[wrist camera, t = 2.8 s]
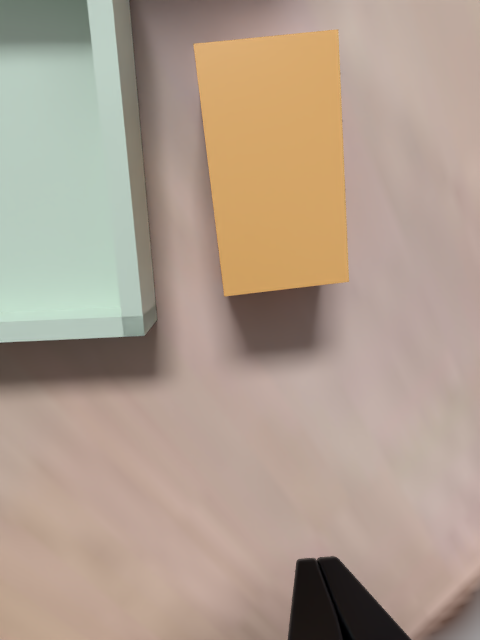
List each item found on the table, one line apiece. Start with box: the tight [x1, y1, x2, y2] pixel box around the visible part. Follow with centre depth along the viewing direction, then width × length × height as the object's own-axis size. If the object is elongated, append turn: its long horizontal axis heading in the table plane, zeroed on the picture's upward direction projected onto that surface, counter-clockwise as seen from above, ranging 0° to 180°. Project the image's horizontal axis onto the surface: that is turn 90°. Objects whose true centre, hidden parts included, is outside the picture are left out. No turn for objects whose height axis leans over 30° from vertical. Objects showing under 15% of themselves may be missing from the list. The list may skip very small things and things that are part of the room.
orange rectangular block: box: [194, 30, 349, 296], centre depth 12 cm, size 7×4×4 cm, turn 6°
